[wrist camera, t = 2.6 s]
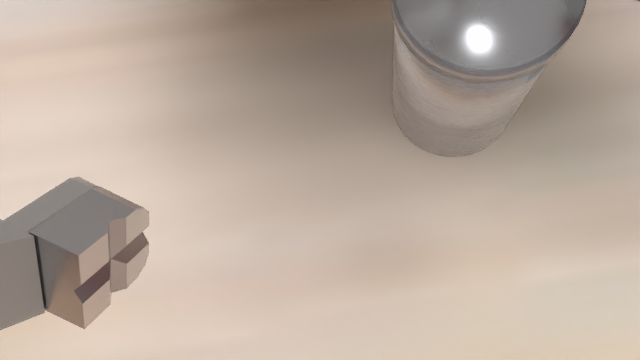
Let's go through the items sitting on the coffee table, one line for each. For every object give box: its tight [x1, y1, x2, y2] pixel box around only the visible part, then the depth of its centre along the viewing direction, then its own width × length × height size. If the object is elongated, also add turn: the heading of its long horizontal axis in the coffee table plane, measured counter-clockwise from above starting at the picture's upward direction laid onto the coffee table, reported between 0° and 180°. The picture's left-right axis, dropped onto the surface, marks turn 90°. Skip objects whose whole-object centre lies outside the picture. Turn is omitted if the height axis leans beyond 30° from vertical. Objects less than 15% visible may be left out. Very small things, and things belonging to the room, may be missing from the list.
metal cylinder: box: [391, 0, 586, 157], centre depth 19 cm, size 5×5×9 cm
